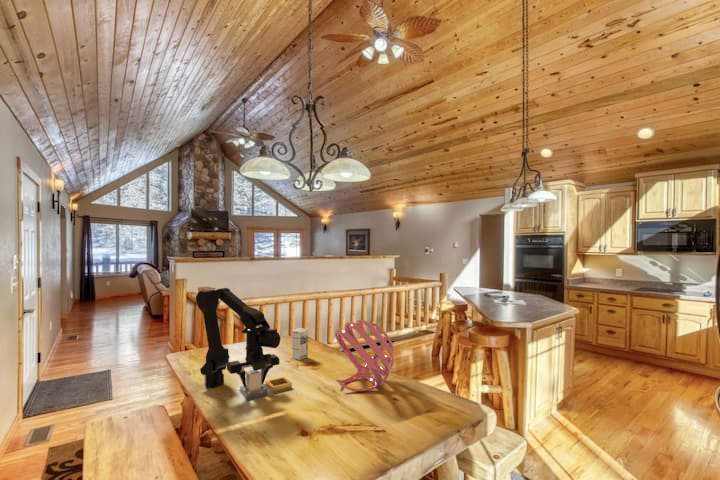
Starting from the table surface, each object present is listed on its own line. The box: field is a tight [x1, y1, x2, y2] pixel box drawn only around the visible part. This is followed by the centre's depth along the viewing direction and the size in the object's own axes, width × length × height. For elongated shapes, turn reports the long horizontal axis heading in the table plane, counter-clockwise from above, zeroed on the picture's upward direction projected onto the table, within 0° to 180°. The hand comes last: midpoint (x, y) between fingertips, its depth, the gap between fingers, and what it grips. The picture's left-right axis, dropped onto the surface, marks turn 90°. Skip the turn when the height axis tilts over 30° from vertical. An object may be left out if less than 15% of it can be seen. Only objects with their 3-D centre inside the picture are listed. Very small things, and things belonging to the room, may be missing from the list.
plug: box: [245, 369, 261, 392], centre depth 132 cm, size 4×4×8 cm
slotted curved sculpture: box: [334, 319, 395, 393], centre depth 142 cm, size 28×28×27 cm
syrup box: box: [291, 327, 309, 361], centre depth 178 cm, size 6×6×14 cm
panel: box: [238, 376, 294, 402], centre depth 135 cm, size 18×12×3 cm, turn 125°
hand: (253, 385), depth 132 cm, fingers open, 6 cm apart
